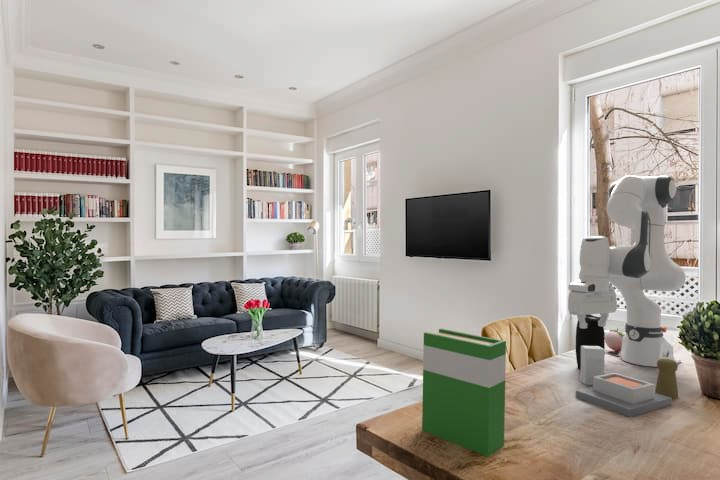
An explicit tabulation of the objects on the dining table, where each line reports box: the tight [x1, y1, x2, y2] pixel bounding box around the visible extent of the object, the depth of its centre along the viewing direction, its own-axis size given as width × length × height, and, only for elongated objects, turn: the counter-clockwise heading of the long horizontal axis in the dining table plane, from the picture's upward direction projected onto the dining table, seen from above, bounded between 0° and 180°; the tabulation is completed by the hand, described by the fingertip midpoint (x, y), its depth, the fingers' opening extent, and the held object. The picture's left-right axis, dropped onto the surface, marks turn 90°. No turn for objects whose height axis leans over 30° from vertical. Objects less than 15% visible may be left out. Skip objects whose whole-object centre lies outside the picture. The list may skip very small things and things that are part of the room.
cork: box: [654, 359, 679, 400], centre depth 134 cm, size 6×6×11 cm
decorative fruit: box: [605, 328, 626, 353], centre depth 184 cm, size 9×8×10 cm
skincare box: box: [580, 346, 606, 386], centre depth 144 cm, size 6×4×12 cm
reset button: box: [606, 377, 642, 388], centre depth 129 cm, size 6×8×2 cm
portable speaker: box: [575, 314, 606, 370], centre depth 159 cm, size 9×9×20 cm
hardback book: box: [421, 328, 507, 457], centre depth 104 cm, size 18×7×24 cm, turn 45°
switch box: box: [575, 372, 673, 418], centre depth 129 cm, size 20×16×6 cm
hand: (592, 327), depth 144 cm, fingers open, 8 cm apart
